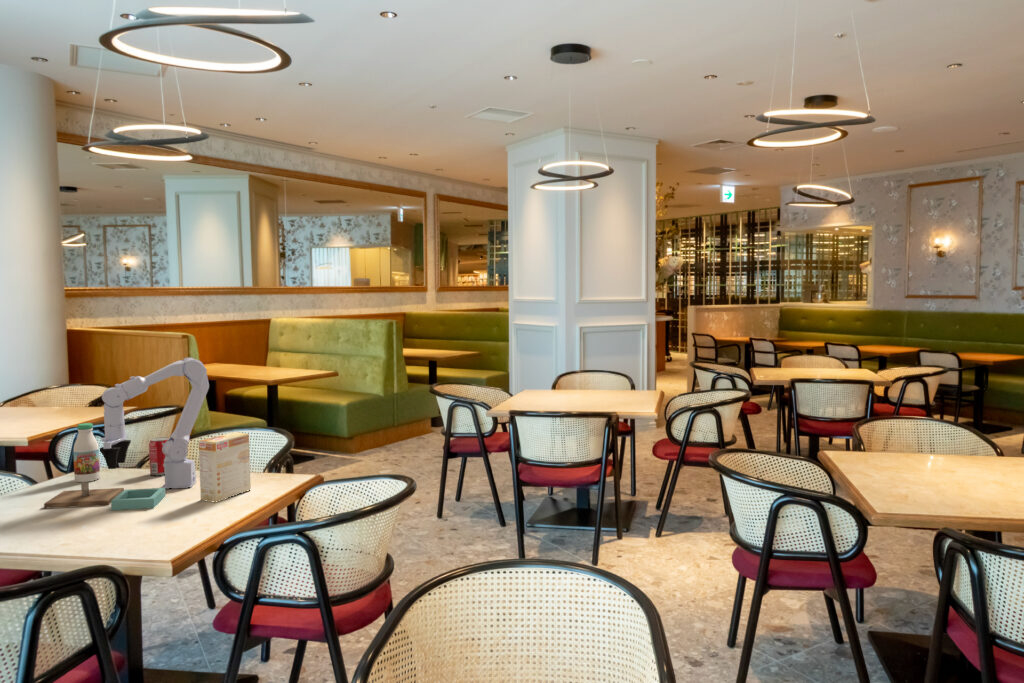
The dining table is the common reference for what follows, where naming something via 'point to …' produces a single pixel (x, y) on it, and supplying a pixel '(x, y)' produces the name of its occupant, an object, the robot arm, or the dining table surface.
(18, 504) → the dining table surface
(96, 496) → the board
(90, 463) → the milk bottle
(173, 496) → the dining table surface
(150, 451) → the soda can
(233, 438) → the coffeecake box
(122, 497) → the teal square frame
